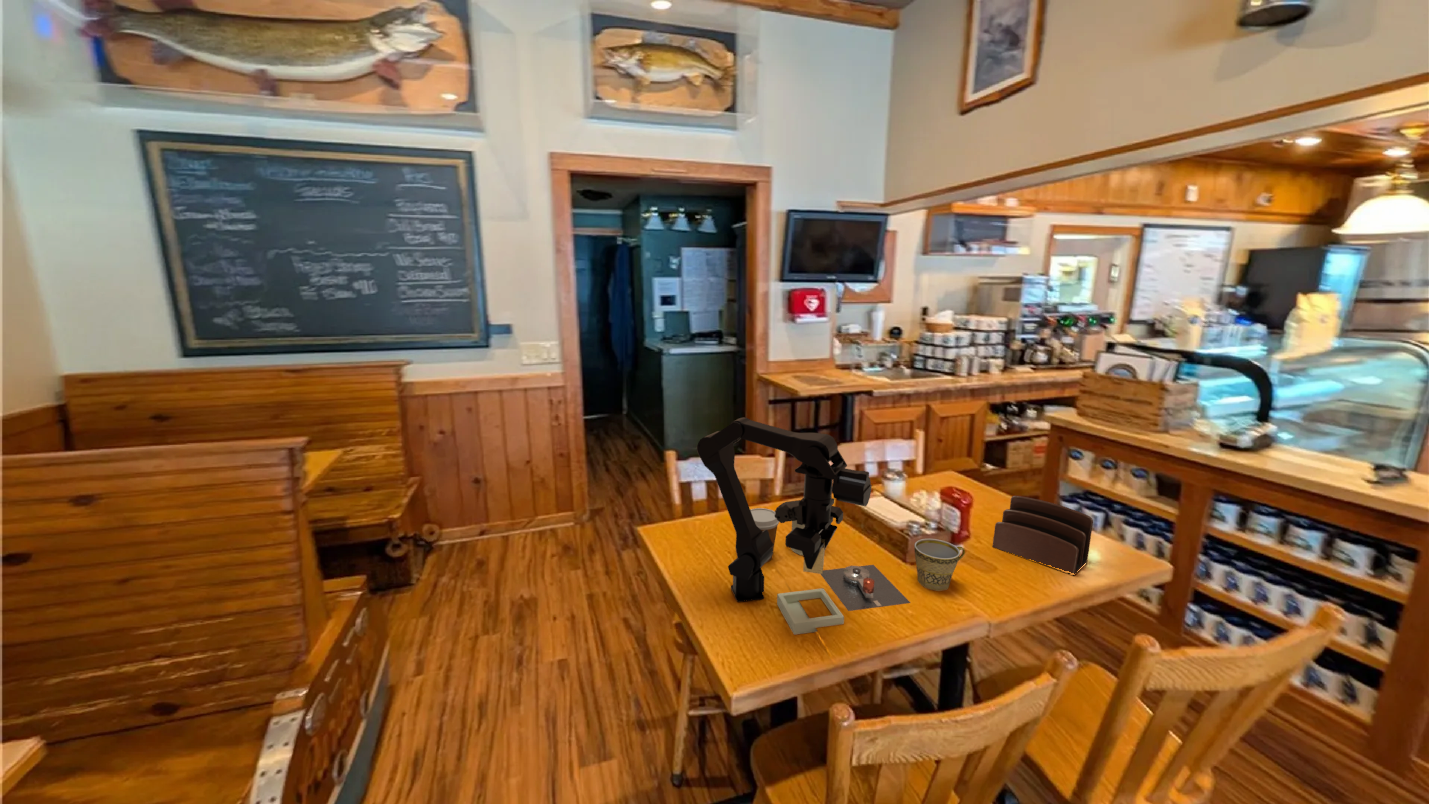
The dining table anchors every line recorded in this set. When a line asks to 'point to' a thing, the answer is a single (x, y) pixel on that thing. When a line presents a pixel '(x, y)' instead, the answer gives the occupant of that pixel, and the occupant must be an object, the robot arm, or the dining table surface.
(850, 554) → the dining table surface
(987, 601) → the dining table surface
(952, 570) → the ceramic cup
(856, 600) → the machine bed
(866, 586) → the crank
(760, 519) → the disposable coffee cup
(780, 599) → the tray
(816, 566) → the block
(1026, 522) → the letter holder
